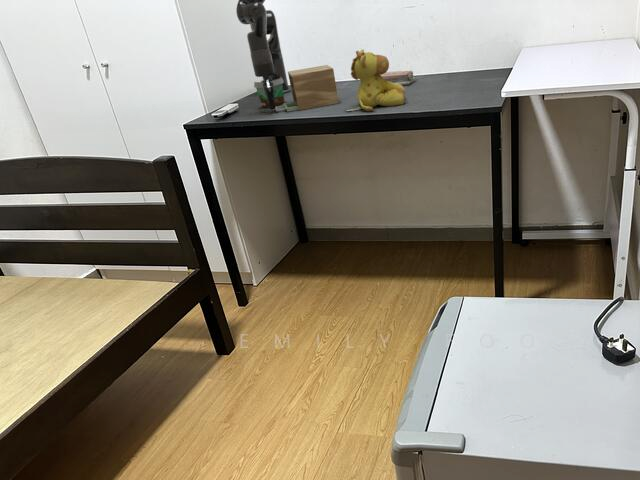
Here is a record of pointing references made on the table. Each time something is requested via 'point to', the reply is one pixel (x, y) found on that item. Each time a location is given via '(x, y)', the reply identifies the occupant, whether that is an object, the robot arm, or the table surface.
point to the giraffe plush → (375, 82)
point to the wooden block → (313, 87)
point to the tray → (288, 107)
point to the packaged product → (399, 77)
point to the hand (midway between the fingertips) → (272, 109)
